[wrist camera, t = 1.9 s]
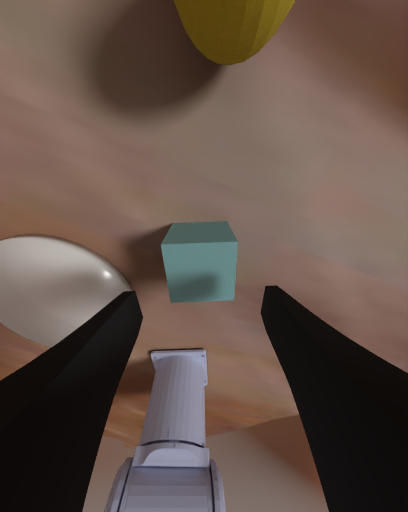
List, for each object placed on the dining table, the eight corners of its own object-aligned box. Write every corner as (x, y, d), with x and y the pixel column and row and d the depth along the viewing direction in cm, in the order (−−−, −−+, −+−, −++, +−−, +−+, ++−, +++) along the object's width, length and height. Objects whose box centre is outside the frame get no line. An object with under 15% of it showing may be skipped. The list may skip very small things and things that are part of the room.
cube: (225, 267, 17) (233, 300, 13) (178, 268, 17) (170, 302, 13) (226, 220, 15) (237, 241, 10) (172, 223, 15) (160, 244, 10)
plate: (148, 340, 22) (145, 349, 21) (34, 344, 22) (25, 353, 21) (114, 231, 15) (107, 235, 14) (-56, 237, 15) (-76, 242, 14)
